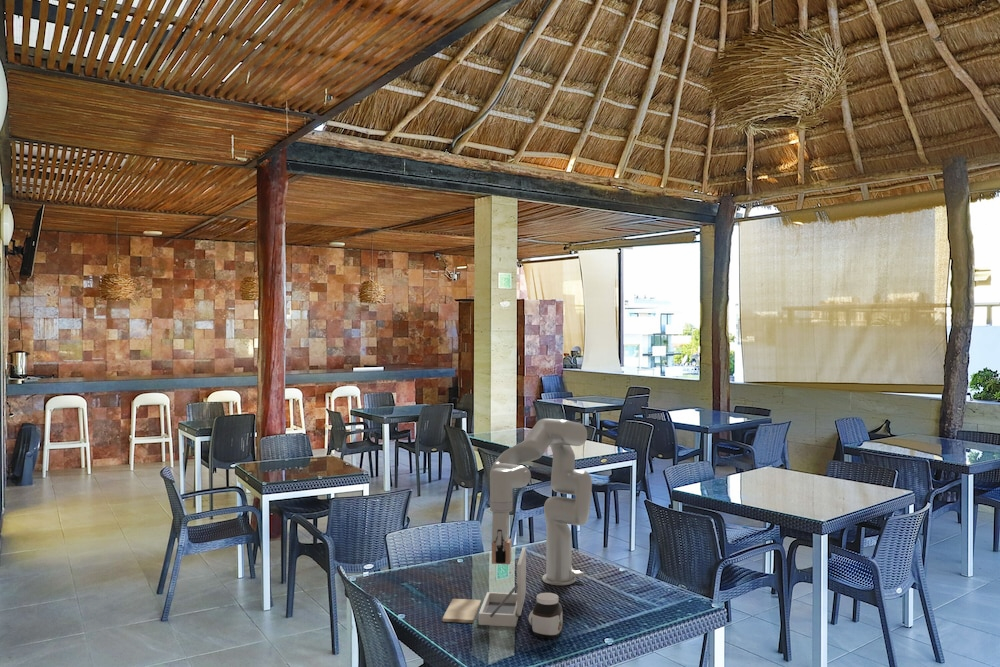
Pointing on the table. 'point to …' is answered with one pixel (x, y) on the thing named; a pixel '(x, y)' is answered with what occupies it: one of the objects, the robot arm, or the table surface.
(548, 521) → the robot arm
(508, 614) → the case
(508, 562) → the block
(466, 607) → the oak board
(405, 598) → the table surface
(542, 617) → the spread jar
